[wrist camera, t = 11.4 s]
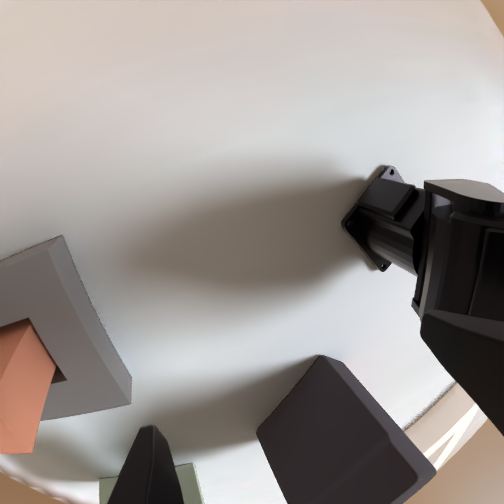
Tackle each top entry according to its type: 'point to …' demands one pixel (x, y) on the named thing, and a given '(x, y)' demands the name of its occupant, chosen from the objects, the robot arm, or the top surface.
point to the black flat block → (340, 444)
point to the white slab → (443, 425)
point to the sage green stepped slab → (186, 480)
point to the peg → (22, 385)
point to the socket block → (64, 330)
